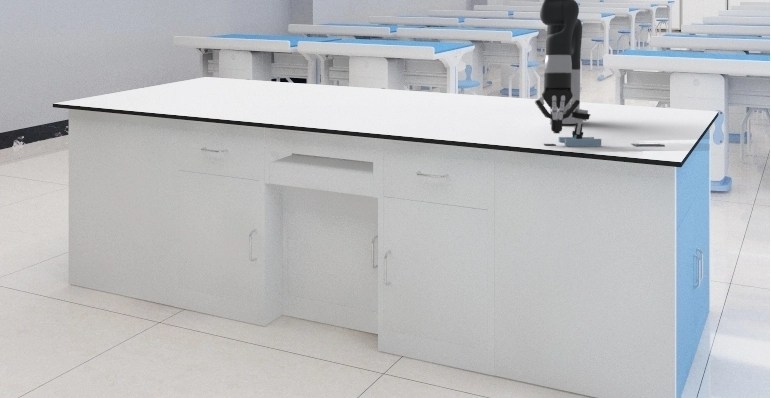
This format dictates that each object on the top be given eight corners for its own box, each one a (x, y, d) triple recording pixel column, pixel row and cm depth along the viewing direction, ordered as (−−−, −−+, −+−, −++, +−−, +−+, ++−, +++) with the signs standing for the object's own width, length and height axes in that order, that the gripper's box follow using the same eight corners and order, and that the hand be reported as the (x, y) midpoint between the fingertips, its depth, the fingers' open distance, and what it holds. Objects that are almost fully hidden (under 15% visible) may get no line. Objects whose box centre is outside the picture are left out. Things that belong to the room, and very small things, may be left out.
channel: (558, 144, 270) (558, 137, 269) (592, 143, 270) (592, 137, 270) (565, 146, 260) (565, 139, 260) (601, 146, 260) (601, 139, 260)
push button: (586, 146, 261) (592, 111, 260) (567, 144, 262) (572, 108, 260) (584, 145, 268) (590, 110, 266) (566, 142, 268) (571, 108, 267)
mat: (628, 144, 267) (628, 143, 267) (655, 144, 267) (655, 142, 267) (636, 146, 259) (636, 144, 259) (664, 146, 259) (664, 144, 259)
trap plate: (542, 144, 268) (542, 143, 268) (552, 144, 268) (552, 143, 268) (545, 145, 263) (545, 144, 263) (556, 145, 263) (556, 144, 263)
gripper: (578, 72, 266) (576, 132, 268) (532, 71, 266) (531, 132, 268) (584, 71, 258) (582, 134, 260) (536, 71, 258) (535, 133, 260)
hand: (556, 133), depth 264 cm, fingers closed
